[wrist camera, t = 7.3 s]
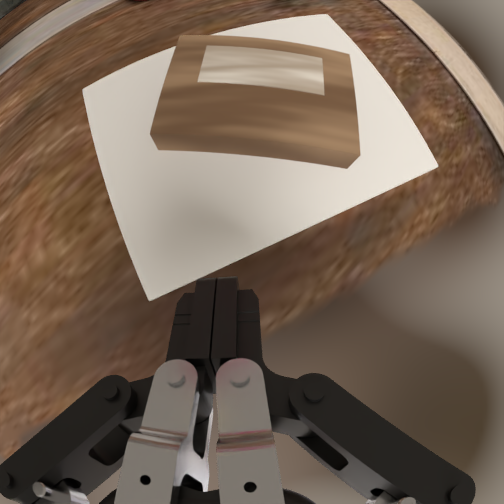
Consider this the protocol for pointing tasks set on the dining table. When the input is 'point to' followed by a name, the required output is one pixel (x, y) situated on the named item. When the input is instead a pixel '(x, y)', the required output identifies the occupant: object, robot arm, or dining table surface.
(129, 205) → the mat
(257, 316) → the robot arm
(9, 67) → the dining table surface
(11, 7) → the mobile phone
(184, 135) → the slab
